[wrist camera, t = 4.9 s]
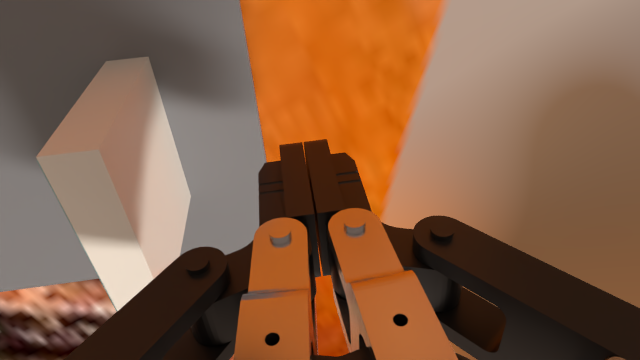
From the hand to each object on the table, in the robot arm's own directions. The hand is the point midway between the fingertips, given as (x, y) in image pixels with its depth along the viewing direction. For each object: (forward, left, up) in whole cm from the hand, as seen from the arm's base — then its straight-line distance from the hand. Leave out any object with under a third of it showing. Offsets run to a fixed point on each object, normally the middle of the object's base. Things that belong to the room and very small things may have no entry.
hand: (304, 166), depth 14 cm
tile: (0, -5, -3) cm, 6 cm away
